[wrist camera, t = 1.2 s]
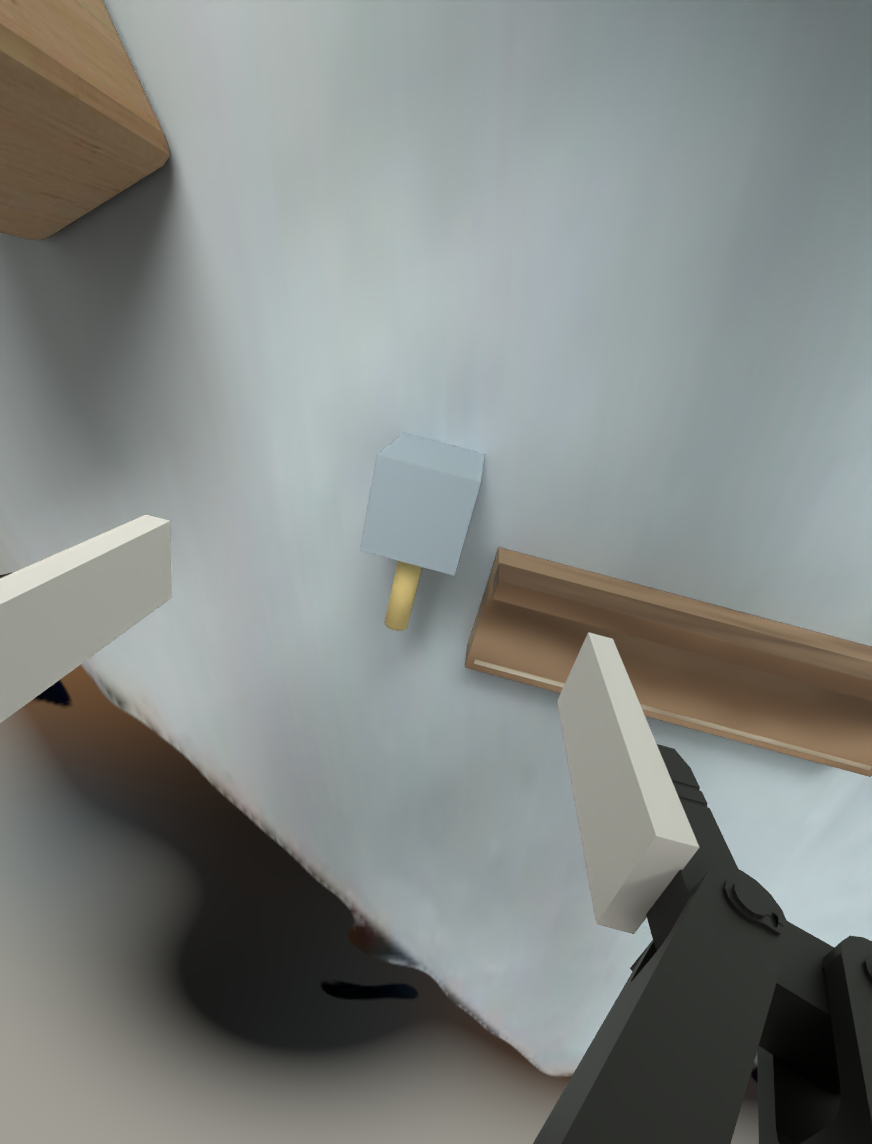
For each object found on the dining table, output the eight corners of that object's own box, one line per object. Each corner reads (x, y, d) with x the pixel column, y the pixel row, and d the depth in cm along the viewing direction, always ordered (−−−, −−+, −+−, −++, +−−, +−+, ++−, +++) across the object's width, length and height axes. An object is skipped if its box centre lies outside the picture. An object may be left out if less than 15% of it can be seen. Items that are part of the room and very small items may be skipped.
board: (498, 547, 30) (498, 580, 26) (921, 660, 30) (996, 713, 25) (467, 646, 34) (462, 691, 29) (845, 748, 33) (899, 809, 29)
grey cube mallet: (404, 432, 28) (376, 454, 22) (484, 453, 28) (481, 481, 22) (375, 577, 32) (345, 630, 26) (445, 595, 32) (432, 653, 26)
